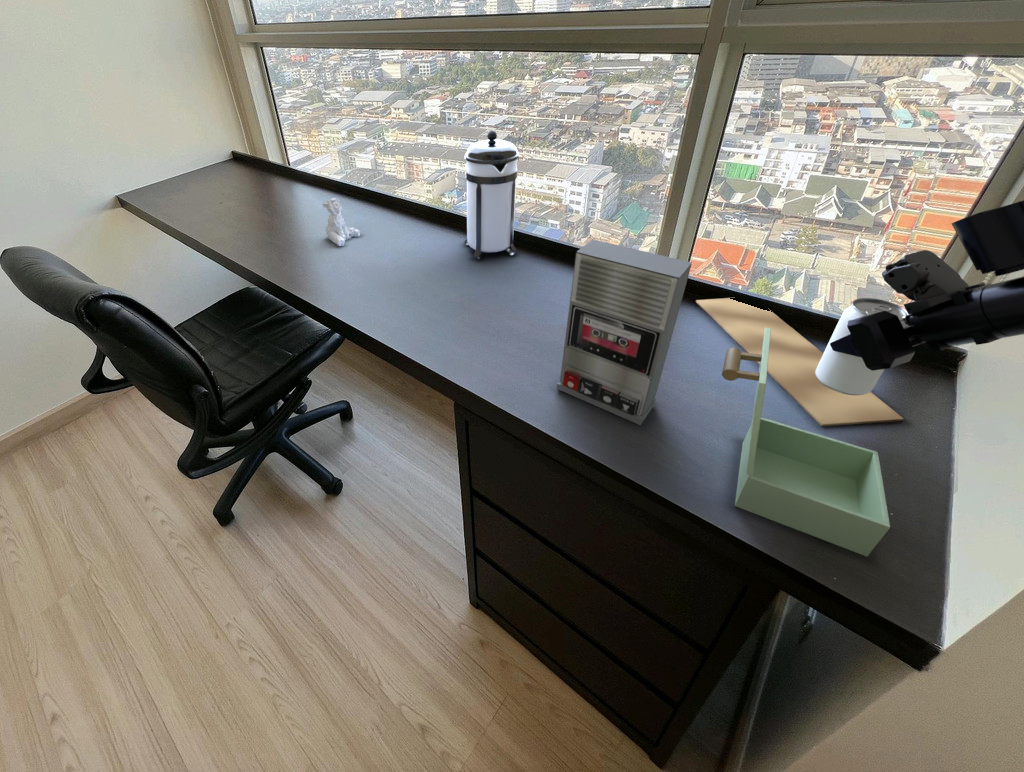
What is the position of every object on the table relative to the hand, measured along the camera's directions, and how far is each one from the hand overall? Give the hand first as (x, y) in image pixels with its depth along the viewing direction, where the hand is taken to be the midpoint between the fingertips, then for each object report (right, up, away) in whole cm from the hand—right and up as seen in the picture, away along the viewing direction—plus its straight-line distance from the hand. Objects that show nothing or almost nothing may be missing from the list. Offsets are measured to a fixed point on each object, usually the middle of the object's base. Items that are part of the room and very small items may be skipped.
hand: (849, 341), depth 65 cm
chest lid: (-17, -7, -7) cm, 20 cm away
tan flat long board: (+6, -2, +20) cm, 21 cm away
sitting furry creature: (-82, +27, +74) cm, 114 cm away
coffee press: (-41, +22, +64) cm, 79 cm away
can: (+1, -6, +2) cm, 6 cm away
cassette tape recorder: (-29, -10, +13) cm, 33 cm away
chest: (-10, -19, -4) cm, 22 cm away
